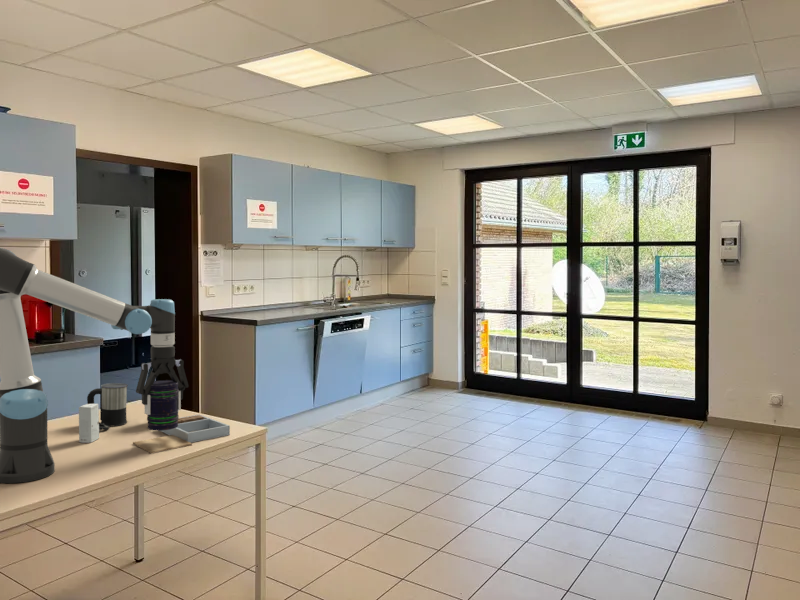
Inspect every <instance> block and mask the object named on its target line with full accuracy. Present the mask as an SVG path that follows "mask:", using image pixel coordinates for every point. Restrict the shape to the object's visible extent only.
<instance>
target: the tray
mask: <svg viewBox="0 0 800 600" xmlns="http://www.w3.org/2000/svg"><path fill="white" fill-rule="evenodd" d="M196 415H197V414H194V415H192V416H196ZM199 415H200V416H203V417H204V419H203V420H198V421H192V422H186V423H180V424H178V427H177V428H174V429H170V430H162V431H160V433H161V432H162V433H164V434H166V435H167V436H169V435H174V436H176V437H179V438H181V439H183V440H186V441H188V442H190V443H196V442H200V441H206V440H211V439H216V438H221V437H226V436H230V435H231V433H230V431H231V430H230V429H231V426H230V425H229V424H227V423H224V422H221V421H218V420H215V419H214V418H213V419H212V418H210V417H207V416H204V415H202V414H199ZM189 416H190V415H188V416H186V417H189ZM184 417H185V416H182V417H178V419H179V418H184Z"/></svg>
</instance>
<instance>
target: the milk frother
mask: <svg viewBox="0 0 800 600" xmlns="http://www.w3.org/2000/svg"><path fill="white" fill-rule="evenodd" d="M128 385H129V384H127V383H123V382H122V383H121V382H110V383H109V382H108V383H103V384H101V385H100V388H94V389H92V390H91V391H89V393H88V394H87V397H86V399H87V400H86V401H87V402H86V404H95V396H96V395H100V406H99V408H100V413H99V415H100V416H99V432H101V431H103V430H105V431H107V430H110V427H118V426H124V425H126V424H127V423H128V421H127V395H128V394H127V393H128V392H127V389H128V388H127V387H128Z"/></svg>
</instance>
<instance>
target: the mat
mask: <svg viewBox="0 0 800 600" xmlns="http://www.w3.org/2000/svg"><path fill="white" fill-rule="evenodd" d="M132 445H134V446H136V447H138V448H140V449H141V450H144V451H146V452H148V453H150V454H154V453H159V452H165V451H169V450H175V449H179V448H185V447H189V446H193V442H191V443H190V442H188V441H186V440H183V439H181V438H179V437H176V436H174V435H165V436H160V437H153V438H149V439H143V440H139V441H133V442H132Z"/></svg>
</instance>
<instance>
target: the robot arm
mask: <svg viewBox="0 0 800 600" xmlns="http://www.w3.org/2000/svg"><path fill="white" fill-rule="evenodd" d="M23 295H28V296H29V297H34V298H36V299H39V300H42V301H44V302H48V303H50V304H53V305H55V306H58V307H61V308H65V309H67V310H68V311H69V310H70V311H72V312H75V313H77V314H81V315H82V316H83V315H84V316H86V317H89V318H92V319H94V320H97V321H100V322H103V323H106V324H108V325H111V328H112V329H113V330H121V331H122V330H124V331H128V332H129V333H130V334H134V335H142V334H144V333H147V332H148V331H149V330H150V345H151V347H150V362H147V363H145V362H142V363H141V364H140V369H141V370H140V374H139V378H138V381H137V386H136V388H135V393H136V394H138V395H141V404H142V405H144V414H146V415H150V395H149V394H148V393H149V391H150V389H151V385H153V383H154V381H156V379H157V377H158V376H159V375H163V374H168V376H169V377H170V380H173V381H174V382H178V399H177V409H178V410H179V411H181V410H182V409H181V407H182V404H181V403H182V402H181V400H183V399H184V391H185V389H186V388H187V389H188V388H189V387H190V385H189V382H188V378H187V375H186V372H185V371H186V370H185V368H184V363H185V361H184V360H183V359H176V358H175V353H176V350H175V349H176V347H175V346H174V345H175V344H176V341H175V339H176V337H175V335H176V334H175V333H176V331H175V329H176V327H175V326H176V325H175V324H176V323H175V321H176V317H175V316H176V312H175V311H176V310H175V301H173V300H172V299H170V298H168V299H167V298H164V299H163V298H161V299H160V298H158V299H151V300H150V303H149V305H131V304H129V303H125V302H123V301H121V300H119V299H115V298H113V297H111V296H107V295H105V294H102V293H100V292H99V291H98V292H97V291H94V290H92V289H89V288H87V287H84V286H81V285H79V284H77V283H74V282H72V281H68V280H66V279H64V278H61V277H59V276H56V275H53V274H50V273H48V272H45V271H43V270H39V269H38V268H37V265H36V264H34V263H32V262H30V261H27V260H24V259H22V258H21V257H19V256H18V255H16V254H15V253H14V252H13V251H11V250H9V249H6V248H3V247H0V483H2V484H20V483H27V482H28V483H29V482H34V481H37V480H41V479H44V478H46V477H49V476H51V475H52V474H54V472H55V468H56V467H55V466H56V465H55V464H56V463H55V461H54V458H53V456H52V454H51V450H50V448H49V445H48V438H49V437H48V406H49V400H48V396H47V394H46V393H45V392H44V389H43V383H42V379H41V378H40V377H38V376H37V375H35V372H34V367H33V361H32V355H31V350H30V345H29V340H28V339H29V338H28V333H27V329H26V327H27V326H26V321H25V317H24V311H23V305H22V300H21V297H22V296H23ZM174 366H176V369H177V373H178V375H177V374H176V371H175V370H174V369H175V368H174ZM150 368H151V371H150V374H149V377H148V373H149V370H150ZM178 376H179V377H178ZM147 377H148V378H147Z"/></svg>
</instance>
